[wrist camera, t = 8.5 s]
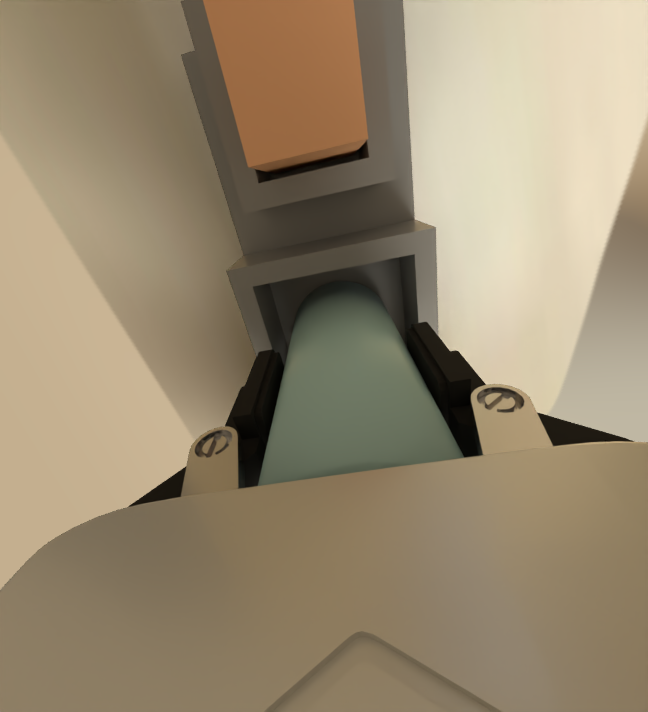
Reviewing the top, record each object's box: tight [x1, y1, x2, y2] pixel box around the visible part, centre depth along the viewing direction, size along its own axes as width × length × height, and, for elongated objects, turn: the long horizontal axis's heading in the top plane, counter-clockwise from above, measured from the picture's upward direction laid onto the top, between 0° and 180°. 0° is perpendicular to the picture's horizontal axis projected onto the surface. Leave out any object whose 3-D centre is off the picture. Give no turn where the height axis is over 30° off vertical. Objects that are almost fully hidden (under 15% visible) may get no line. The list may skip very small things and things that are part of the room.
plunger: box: [203, 0, 368, 174], centre depth 9 cm, size 3×3×5 cm
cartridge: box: [258, 281, 464, 486], centre depth 11 cm, size 5×5×11 cm
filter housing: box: [181, 0, 438, 367], centre depth 14 cm, size 15×8×4 cm, turn 11°
